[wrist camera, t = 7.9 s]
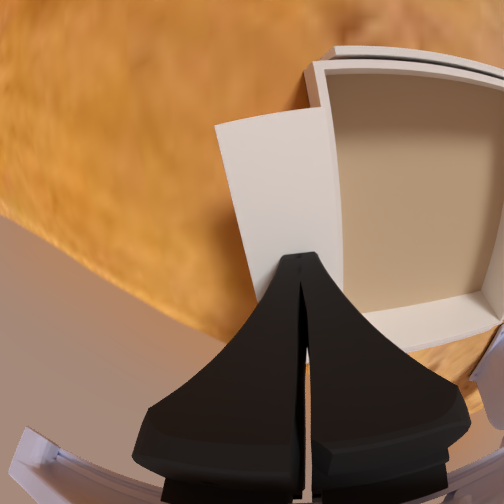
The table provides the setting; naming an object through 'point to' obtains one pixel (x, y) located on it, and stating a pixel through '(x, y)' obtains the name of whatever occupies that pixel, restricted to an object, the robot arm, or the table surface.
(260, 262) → the flap
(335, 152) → the carton
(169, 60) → the table surface
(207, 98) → the table surface
